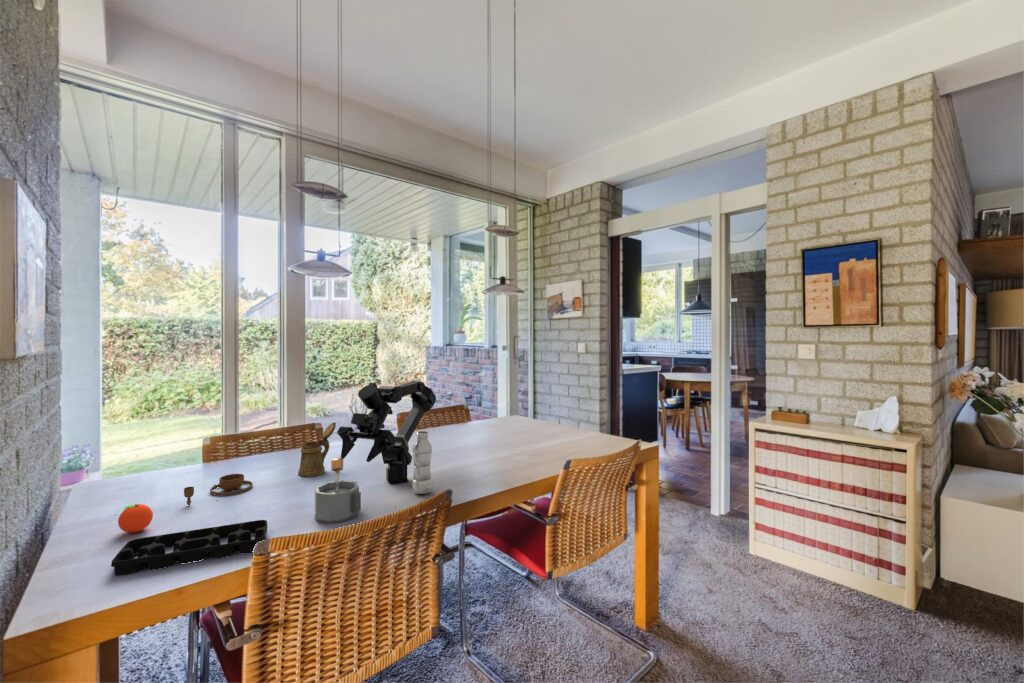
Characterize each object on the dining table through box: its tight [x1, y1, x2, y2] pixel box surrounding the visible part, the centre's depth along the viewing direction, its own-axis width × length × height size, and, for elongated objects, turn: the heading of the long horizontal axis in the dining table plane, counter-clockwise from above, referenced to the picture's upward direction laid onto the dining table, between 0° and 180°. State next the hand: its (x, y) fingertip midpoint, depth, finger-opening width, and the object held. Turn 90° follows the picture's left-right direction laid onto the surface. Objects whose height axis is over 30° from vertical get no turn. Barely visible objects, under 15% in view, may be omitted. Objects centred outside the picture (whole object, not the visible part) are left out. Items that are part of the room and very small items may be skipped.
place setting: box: [183, 473, 254, 505], centre depth 143 cm, size 18×20×6 cm
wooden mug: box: [297, 421, 337, 478], centre depth 166 cm, size 9×14×18 cm, turn 134°
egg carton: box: [110, 519, 268, 577], centre depth 104 cm, size 18×30×4 cm, turn 128°
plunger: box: [323, 457, 351, 494], centre depth 126 cm, size 8×8×10 cm
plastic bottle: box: [411, 430, 433, 495], centre depth 144 cm, size 6×7×20 cm
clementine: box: [114, 503, 154, 534], centre depth 114 cm, size 8×7×7 cm
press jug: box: [314, 479, 362, 524], centre depth 126 cm, size 12×13×8 cm
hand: (354, 460), depth 134 cm, fingers open, 9 cm apart
